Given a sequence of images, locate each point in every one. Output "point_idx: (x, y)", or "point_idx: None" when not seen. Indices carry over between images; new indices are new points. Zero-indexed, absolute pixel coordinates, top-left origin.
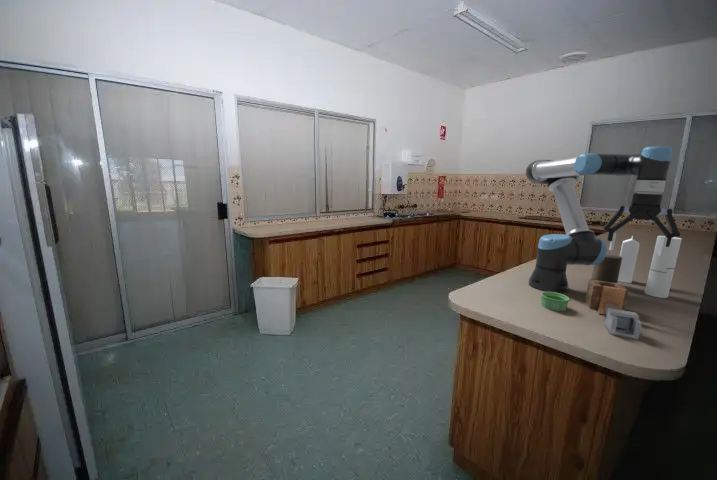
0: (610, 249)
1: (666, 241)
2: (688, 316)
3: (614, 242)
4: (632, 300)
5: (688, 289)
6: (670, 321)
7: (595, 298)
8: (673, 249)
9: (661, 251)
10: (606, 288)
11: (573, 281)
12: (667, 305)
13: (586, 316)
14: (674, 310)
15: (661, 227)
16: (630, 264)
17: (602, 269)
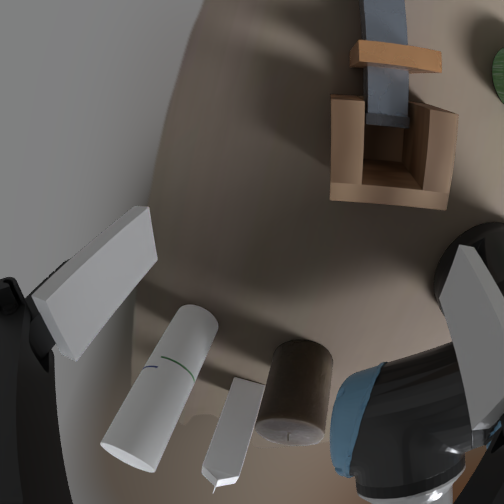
0: (474, 257)
1: (55, 274)
2: (156, 182)
3: (488, 292)
4: (264, 251)
5: (142, 365)
6: (206, 105)
7: (426, 105)
8: (125, 415)
9: (126, 225)
10: (429, 50)
11: (381, 350)
12: (185, 250)
13: (445, 23)
14: (177, 215)
15: (5, 410)
16: (229, 419)
17: (314, 384)
